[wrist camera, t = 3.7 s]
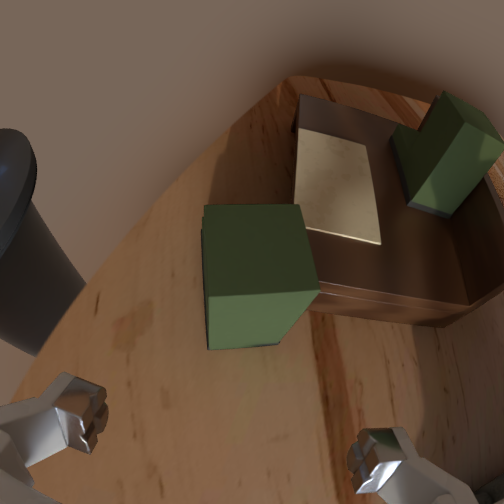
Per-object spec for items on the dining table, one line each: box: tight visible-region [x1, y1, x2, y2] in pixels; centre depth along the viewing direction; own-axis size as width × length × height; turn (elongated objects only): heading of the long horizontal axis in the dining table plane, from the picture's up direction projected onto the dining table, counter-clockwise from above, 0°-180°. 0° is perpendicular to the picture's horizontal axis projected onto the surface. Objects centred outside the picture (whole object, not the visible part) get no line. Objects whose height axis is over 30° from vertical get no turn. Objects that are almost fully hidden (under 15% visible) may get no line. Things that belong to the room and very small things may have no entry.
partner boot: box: [389, 91, 504, 219], centre depth 23 cm, size 5×10×10 cm, turn 172°
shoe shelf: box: [290, 94, 504, 328], centre depth 26 cm, size 17×24×11 cm
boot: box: [201, 204, 321, 350], centre depth 20 cm, size 5×10×10 cm, turn 7°
